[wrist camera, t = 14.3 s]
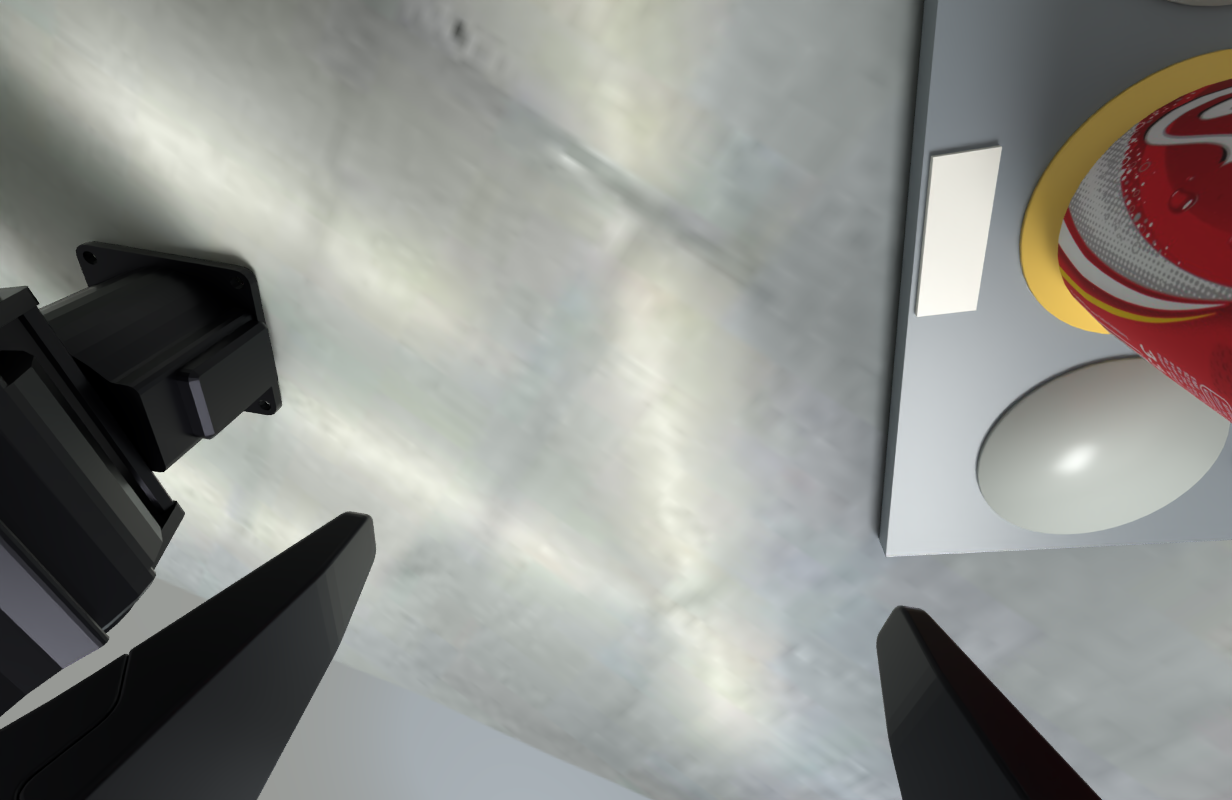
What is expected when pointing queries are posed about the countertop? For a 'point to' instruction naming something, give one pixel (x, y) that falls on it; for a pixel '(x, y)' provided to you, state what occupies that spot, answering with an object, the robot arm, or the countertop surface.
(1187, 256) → the soda can
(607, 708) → the countertop surface
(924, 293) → the control panel
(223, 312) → the robot arm
